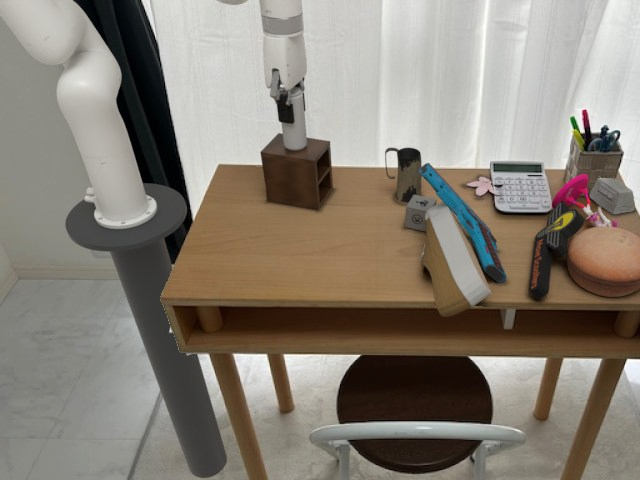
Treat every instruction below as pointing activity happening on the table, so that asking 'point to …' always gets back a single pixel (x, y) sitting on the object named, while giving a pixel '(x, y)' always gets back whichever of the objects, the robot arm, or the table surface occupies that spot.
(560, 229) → the decorative sign
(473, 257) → the sneaker
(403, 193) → the mug
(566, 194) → the figurine
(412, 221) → the dice cube
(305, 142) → the beverage can
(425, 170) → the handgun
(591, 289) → the round sponge cake
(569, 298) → the table surface
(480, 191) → the flower
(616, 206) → the mineral specimen
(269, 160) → the divided wooden organizer
